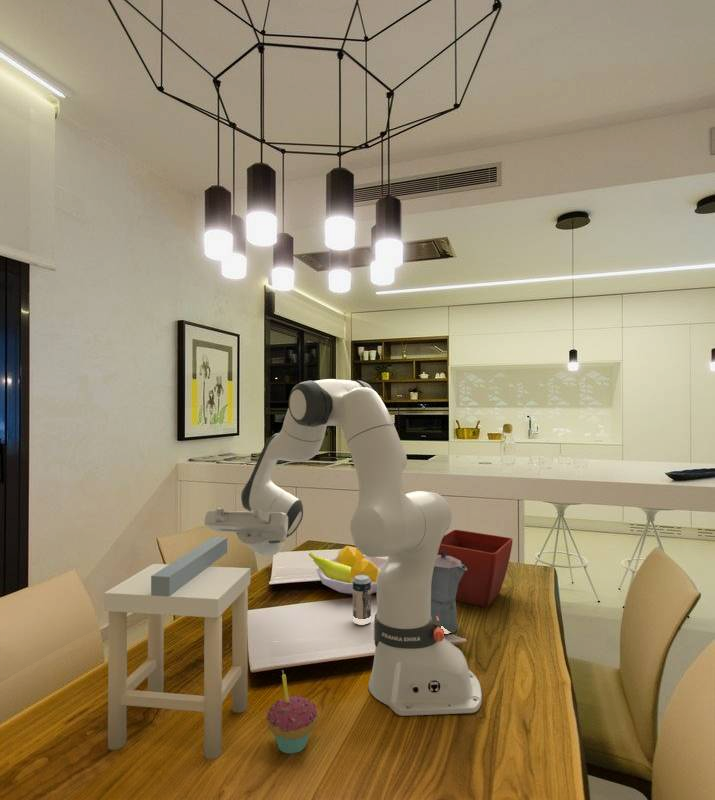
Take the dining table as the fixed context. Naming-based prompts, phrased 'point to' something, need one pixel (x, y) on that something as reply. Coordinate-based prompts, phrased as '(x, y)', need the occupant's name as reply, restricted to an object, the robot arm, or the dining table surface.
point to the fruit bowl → (348, 569)
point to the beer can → (361, 596)
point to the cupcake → (292, 721)
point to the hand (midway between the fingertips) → (237, 512)
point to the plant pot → (478, 564)
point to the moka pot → (446, 590)
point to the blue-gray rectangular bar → (187, 567)
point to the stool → (193, 599)
